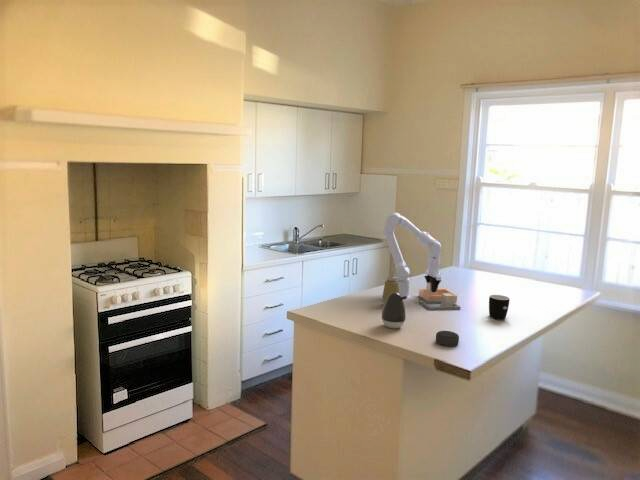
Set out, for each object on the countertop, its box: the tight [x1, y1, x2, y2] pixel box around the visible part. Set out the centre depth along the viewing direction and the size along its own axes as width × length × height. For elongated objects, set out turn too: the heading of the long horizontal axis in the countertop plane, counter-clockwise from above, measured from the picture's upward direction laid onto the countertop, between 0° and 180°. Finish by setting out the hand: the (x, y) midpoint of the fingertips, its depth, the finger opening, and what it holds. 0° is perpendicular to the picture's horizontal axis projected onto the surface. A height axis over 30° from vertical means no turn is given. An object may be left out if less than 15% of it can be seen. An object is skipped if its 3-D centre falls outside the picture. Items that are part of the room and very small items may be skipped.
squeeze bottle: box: [382, 269, 399, 305], centre depth 262 cm, size 8×8×18 cm
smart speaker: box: [435, 330, 460, 347], centre depth 213 cm, size 9×9×4 cm
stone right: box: [441, 293, 455, 307], centre depth 264 cm, size 4×4×6 cm
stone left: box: [425, 282, 439, 296], centre depth 276 cm, size 4×4×6 cm
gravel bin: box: [418, 288, 458, 303], centre depth 278 cm, size 15×13×4 cm
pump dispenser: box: [381, 292, 408, 330], centre depth 229 cm, size 10×10×15 cm
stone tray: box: [419, 300, 461, 311], centre depth 263 cm, size 16×11×2 cm
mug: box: [488, 294, 511, 321], centre depth 251 cm, size 12×9×10 cm
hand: (431, 290), depth 276 cm, fingers closed on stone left, 4 cm apart
